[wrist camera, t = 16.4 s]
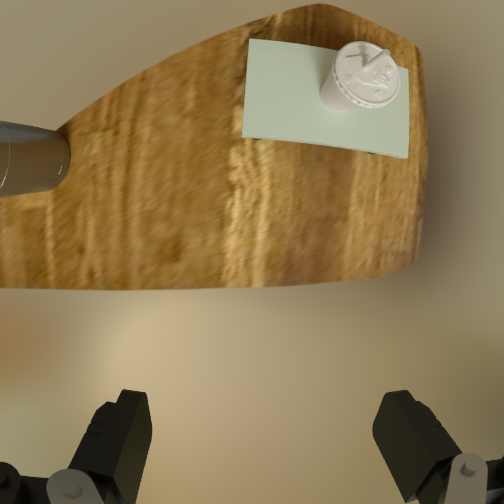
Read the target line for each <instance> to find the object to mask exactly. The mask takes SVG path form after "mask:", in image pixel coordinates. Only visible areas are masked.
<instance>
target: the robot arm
mask: <svg viewBox="0 0 504 504" xmlns="http://www.w3.org/2000/svg"><path fill="white" fill-rule="evenodd" d="M69 162H70V151H69V146H68V143H67V141H66V139H65V138H64V137H63V136H62V135H61V134H60V133H59V132H56V131H53V130H47V129H43V128H39V127H33V126H28V125H22V124H16V123H11V122H6V121H0V198H1V197H7V196H13V195H20V194H27V193H35V192H43V191H49V190H52V189H53V188H55V187H57V186H58V185H59V184H60V183H61V182H62V180H63V179H64V177H65V175H66V173H67V170H68V167H69ZM372 431H373V437H374V440H375V442H376V444H377V446H378V448H379V450H380V452H381V454H382V456H383V458H384V460H385V462H386V464H387V466H388V468H389V470H390V472H391V474H392V476H393V478H394V480H395V482H396V484H397V486H398V488H399V491H400V493H401V495H402V497H403V499H404V501H405V503H408V502H411V501H414V500H417V499H418V501H419V503H420V504H504V456H503V457H502V459H498V460H491V461H484V459H483V458H481V457H480V456H478V455H477V454H474V453H462V451H461V450H460V449H459V447H458V446H457V445H456V443H455V442H454V441H453V439H452V438H451V437H450V435H449V434H448V433H447V431H446V430H445V428H444V427H442V425H441V423H440V422H439V420H437V419H436V416H435V415H434V414H433V412H432V411H431V410H430V409H429V408H428V407H427V406H425V405H424V404H422V403H421V402H420V401H415V399H414V398H413V397H412V395H411V394H410V393H409V391H407V390H400V391H394V392H388V393H386V394H385V395H384V397H383V400H382V402H381V405H380V407H379V410H378V413H377V415H376V418H375V420H374V423H373V430H372ZM151 439H152V422H151V416H150V411H149V405H148V399H147V394H146V393H145V392H139V391H132V390H126V389H123V390H122V391H121V393H120V395H119V397H118V400H117V402H116V403H113V402H106V403H105V404H104V405H102V406H101V407H100V408H99V409H97V410H96V412H95V414H94V416H93V418H92V420H91V424H89V426H88V428H87V431H86V433H85V434H84V436H83V438H82V440H81V442H80V444H79V446H78V448H77V450H76V452H75V455H74V457H73V459H72V461H71V463H70V465H69V467H68V468H67V469H63V470H60V471H57V472H55V473H54V474H53V475H52V476H51V477H50V478H39V477H38V478H37V477H29V476H21V475H20V474H19V473H18V471H17V470H16V469H15V468H14V467H13V466H12V465H10V464H8V463H5V462H0V504H135V503H136V499H137V495H138V490H139V486H140V482H141V478H142V474H143V470H144V466H145V463H146V459H147V454H148V451H149V447H150V443H151Z"/></svg>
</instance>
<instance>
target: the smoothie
mask: <svg viewBox="0 0 504 504" xmlns="http://www.w3.org/2000/svg"><path fill="white" fill-rule="evenodd" d="M400 84H401V80H400V74H399V70H398V68H397V66H396V64H395V62H394V61H393V59H392V58H391V57H390V51H389V50H387V49H384V50H383V49H382V48H380V47H378V46H376V45H374V44H372V43H369V42H364V41H356V42H351V43H349V44H347V45H345V46H344V47H343V48H342V49H340V50H339V51H338V52H337V54H336V55H335V56H334V59H333V63H332V69H331V71H330V73H329V75H328V77H327V79H326V81H325V83H324V85H323V86H322V88H321V91H320V99H321V101H322V103H323V104H324V106H325V107H326V108H328V109H329V110H331V111H335V112H340V111H345V110H350V109H356V108H361V107H366V108H380V107H382V106H385V105H387V104H388V103H390V102H391V101H393V100H394V99H395V97H396V96H397V94H398V92H399V90H400Z"/></svg>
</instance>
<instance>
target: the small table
mask: <svg viewBox="0 0 504 504" xmlns="http://www.w3.org/2000/svg"><path fill="white" fill-rule="evenodd" d="M337 52H338V51H337V50H332V49H326V48H321V47H315V46H309V45H303V44H296V43H288V42H280V41H271V40H260V39H249V48H248V60H247V73H246V85H245V99H244V112H243V126H242V137H243V138H252V139H254V140H261V139H270V140H282V141H292V142H301V143H310V144H318V145H326V146H333V147H340V148H347V149H353V150H359V151H365V152H368V153H369V154H382V155H387V156H393V157H398V158H408V144H409V84H408V69H405V68H402V67H399V66H397V68H398V70H399V74H400V80H401V84H400V90H399V92H398V94H397V96H396V97H395V99H394V100H393V101H391V102H390V103H388V104H387V105H385V106H382V107H380V108H366V107H361V108H356V109H350V110H345V111H340V112H335V111H331V110H329V109H328V108H326V107H325V106H324V104H323V103H322V101H321V99H320V91H321V88H322V86H323V85H324V83H325V81H326V79H327V77H328V75H329V73H330V71H331V69H332V63H333V59H334V56H335V55H336V54H337Z"/></svg>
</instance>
